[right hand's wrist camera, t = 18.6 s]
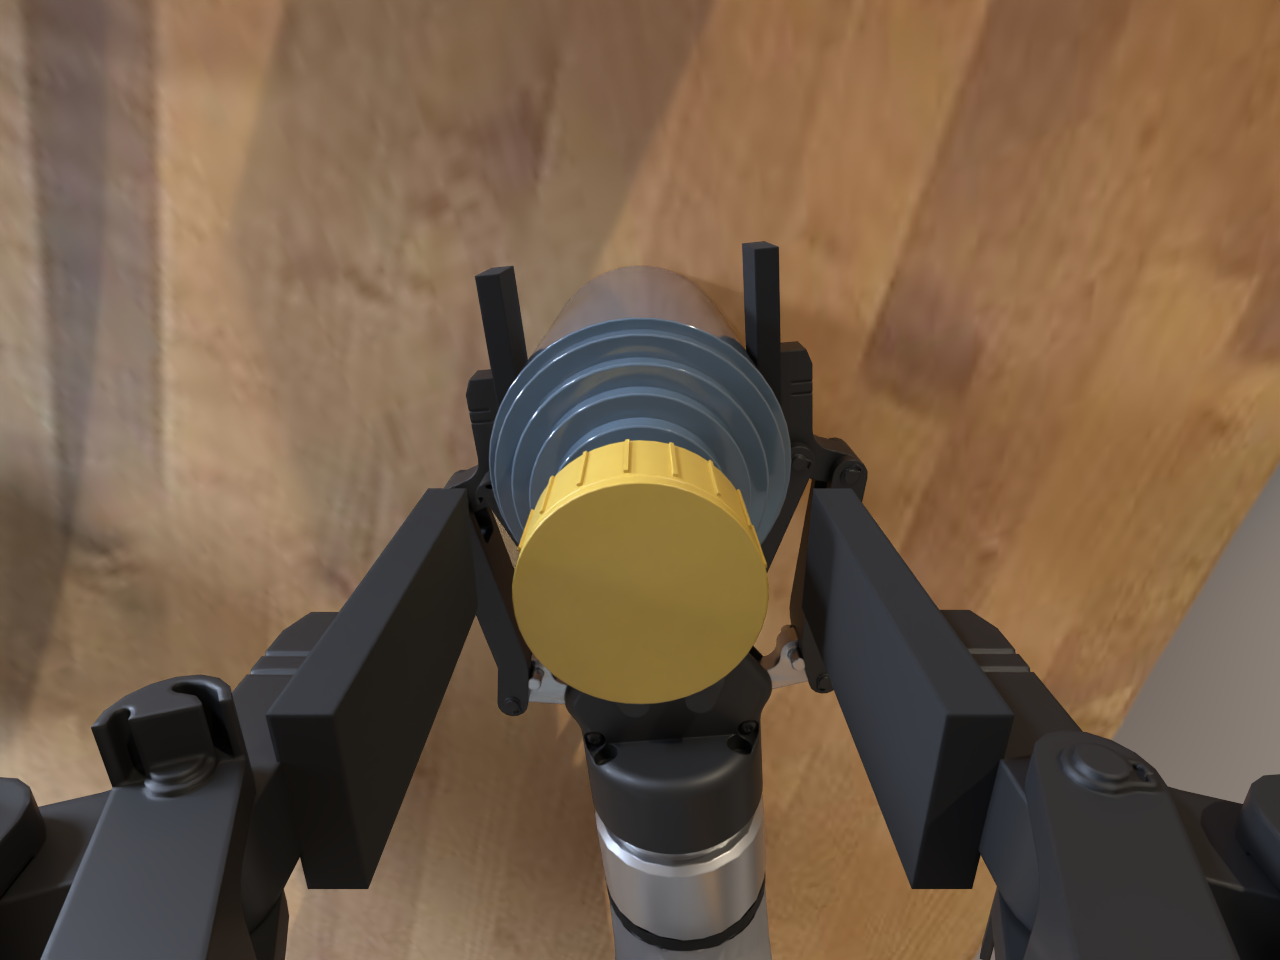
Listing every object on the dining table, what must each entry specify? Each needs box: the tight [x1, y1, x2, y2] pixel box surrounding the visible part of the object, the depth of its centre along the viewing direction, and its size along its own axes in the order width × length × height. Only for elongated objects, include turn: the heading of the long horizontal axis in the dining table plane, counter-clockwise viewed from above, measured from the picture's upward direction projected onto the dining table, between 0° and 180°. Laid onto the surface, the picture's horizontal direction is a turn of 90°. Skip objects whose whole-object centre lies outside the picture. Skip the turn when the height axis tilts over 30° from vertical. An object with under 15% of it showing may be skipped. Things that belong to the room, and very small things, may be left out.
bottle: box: [489, 266, 791, 546], centre depth 22 cm, size 8×8×19 cm
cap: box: [512, 439, 768, 704], centre depth 14 cm, size 5×5×2 cm
